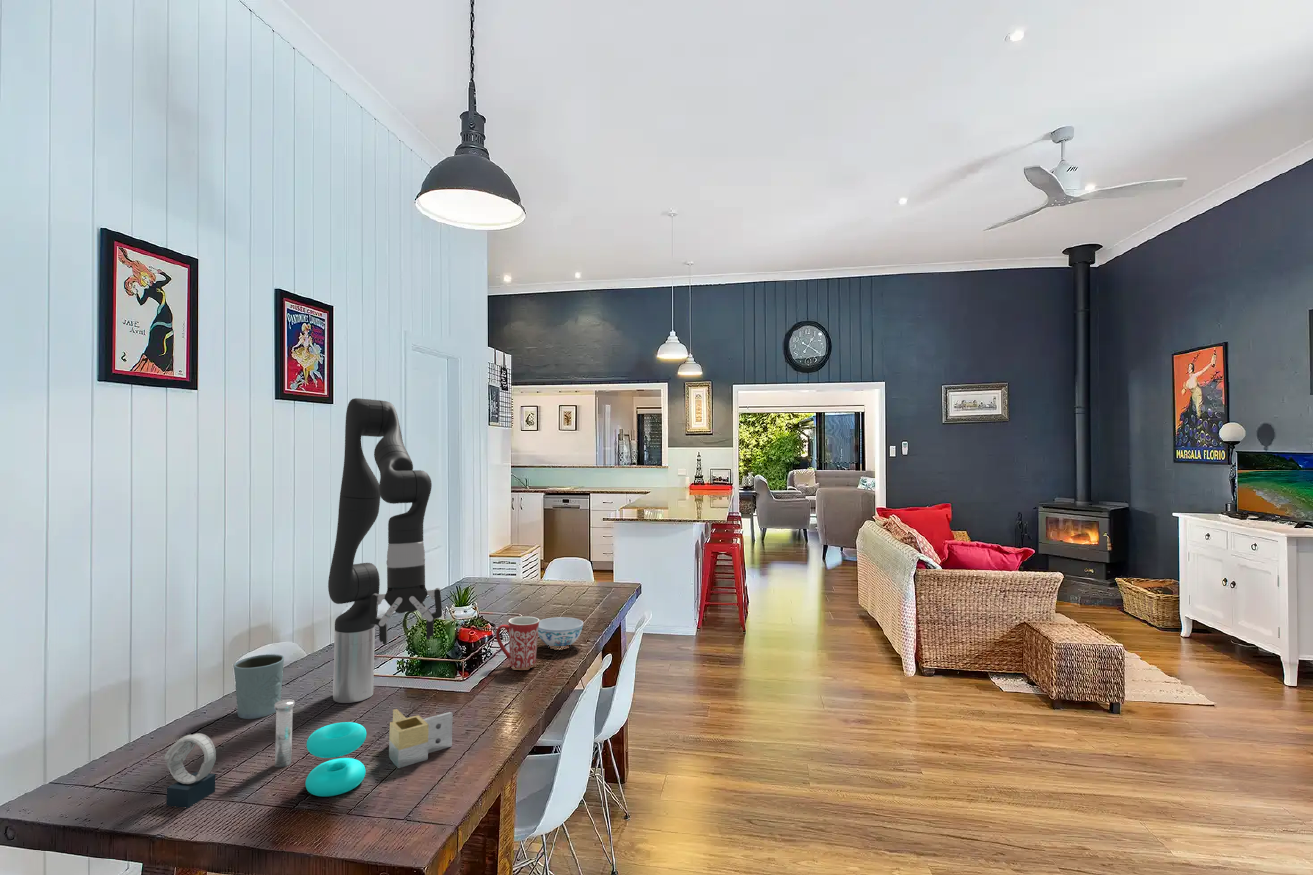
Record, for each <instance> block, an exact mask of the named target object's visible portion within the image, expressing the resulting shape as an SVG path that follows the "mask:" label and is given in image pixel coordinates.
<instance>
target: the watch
mask: <svg viewBox="0 0 1313 875" xmlns="http://www.w3.org/2000/svg"><path fill="white" fill-rule="evenodd" d="M196 745H197V746H198V747H200V749H201V750H202V753H203V755H204V757H203V762H202V763H201V765H200V768H199V771H195V772H192V773H190V772H188V771H187V769H186V768H185V765H184V763H183V762H184V761H185V760H186V758H187V756H188V755H190V753H191V752H192V751H193V750H194V748H195V746H196ZM216 754H217V752H216V747H215V745H214V743H213V740H212V739H211V738H210V737H209V736H208V735H206V734H204V733H199V732H198V733H197V732H196V733H193V734H187V735H185V736H183V737H181V738H180V739H178V740H177V741H175V743H173V745H171V747H170V748H169V749H168V750H167V751H166V753H165V755H164V760H165V763H166V768H167V769H168V771H169V772H170V775H171V776H172V777H173V779H174V780H175V781H176V782H175V783H173V784H171V785H169V786H168V787H166V800H165V801H166V803H165V804H166V805H168V806H167V807H172V806H176V807H175V808H180V807H186V808H185V809H190V808H191V807H193V806H194V805H195V803H196V804H197V803H199V802H200V801H202V800H204V799H205V798H207V797H208V796H210V795H212V794H214V793H215V792H216V775H217V774H215V773H210V772H211V771H212V770H213V768H214V766H215V763H216V759H217V757H216V756H217V755H216ZM193 804H194V805H193ZM166 805H165V806H166ZM190 806H191V807H190Z"/></svg>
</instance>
